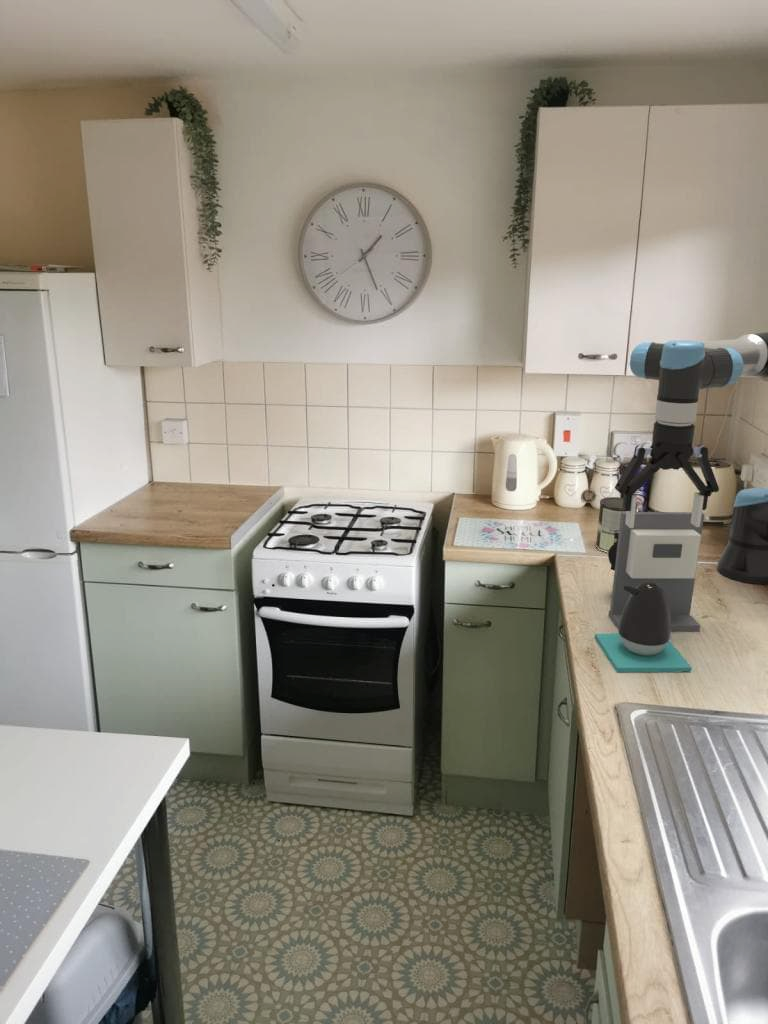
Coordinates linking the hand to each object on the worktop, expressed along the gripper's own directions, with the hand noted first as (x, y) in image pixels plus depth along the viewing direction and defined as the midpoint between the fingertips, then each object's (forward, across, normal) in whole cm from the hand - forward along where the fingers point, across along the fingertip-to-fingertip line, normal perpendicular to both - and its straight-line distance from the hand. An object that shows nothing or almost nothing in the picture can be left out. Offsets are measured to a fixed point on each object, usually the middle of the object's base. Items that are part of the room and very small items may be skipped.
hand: (662, 525), depth 155 cm
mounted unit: (+27, -5, -10) cm, 29 cm away
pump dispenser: (+26, +3, +4) cm, 27 cm away
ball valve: (+28, -8, -28) cm, 40 cm away
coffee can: (+28, -12, -60) cm, 67 cm away
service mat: (+27, +3, +4) cm, 27 cm away
